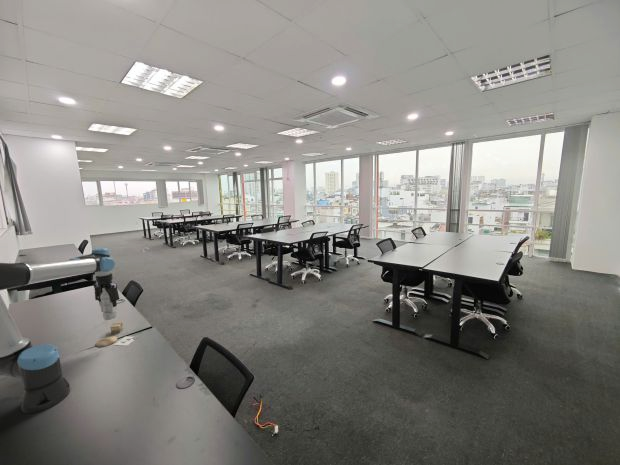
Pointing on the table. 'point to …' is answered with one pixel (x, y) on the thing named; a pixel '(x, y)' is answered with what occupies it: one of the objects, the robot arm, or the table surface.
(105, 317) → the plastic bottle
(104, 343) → the cork coaster
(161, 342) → the table surface
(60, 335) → the table surface
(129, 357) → the table surface
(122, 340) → the card
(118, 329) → the oak block
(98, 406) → the table surface
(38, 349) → the robot arm
